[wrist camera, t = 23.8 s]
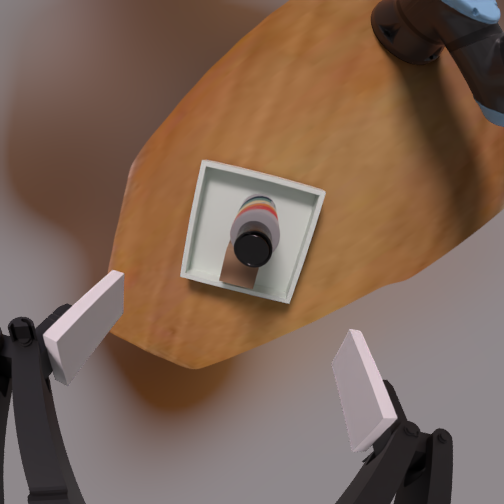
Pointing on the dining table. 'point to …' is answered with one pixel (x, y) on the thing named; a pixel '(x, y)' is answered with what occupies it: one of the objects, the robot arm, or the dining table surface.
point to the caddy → (224, 213)
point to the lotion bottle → (255, 231)
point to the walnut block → (237, 270)
